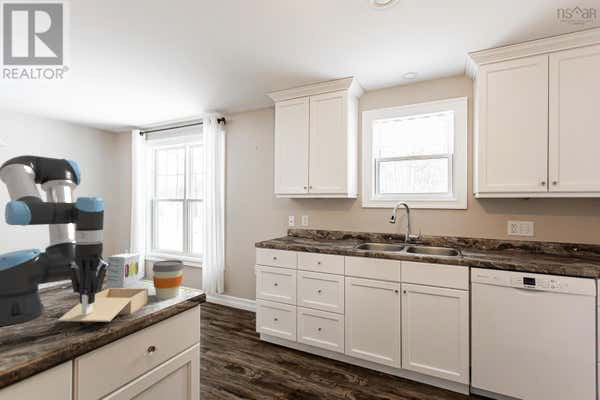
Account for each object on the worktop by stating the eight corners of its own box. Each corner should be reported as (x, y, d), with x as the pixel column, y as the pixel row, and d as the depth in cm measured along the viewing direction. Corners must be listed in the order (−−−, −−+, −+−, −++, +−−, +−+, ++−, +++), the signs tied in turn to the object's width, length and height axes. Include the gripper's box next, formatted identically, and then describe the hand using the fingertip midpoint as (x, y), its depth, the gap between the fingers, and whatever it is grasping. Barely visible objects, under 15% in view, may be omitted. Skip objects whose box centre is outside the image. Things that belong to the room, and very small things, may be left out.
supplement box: (122, 294, 123) (123, 257, 124) (105, 293, 125) (106, 256, 126) (139, 288, 133) (140, 253, 133) (122, 287, 134) (124, 252, 135)
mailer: (86, 314, 101) (87, 297, 101) (108, 302, 113) (109, 288, 113) (130, 314, 101) (131, 298, 102) (147, 303, 113) (148, 288, 114)
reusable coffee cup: (162, 291, 129) (163, 259, 130) (187, 292, 128) (188, 260, 128) (145, 300, 117) (146, 265, 117) (172, 301, 116) (174, 266, 116)
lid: (86, 297, 101) (86, 299, 101) (58, 319, 89) (58, 321, 89) (131, 298, 101) (131, 299, 101) (109, 320, 89) (109, 321, 89)
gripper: (59, 244, 88) (57, 317, 88) (101, 244, 89) (98, 317, 88) (78, 241, 96) (75, 308, 95) (116, 241, 96) (114, 309, 96)
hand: (87, 313), depth 92 cm, fingers closed
